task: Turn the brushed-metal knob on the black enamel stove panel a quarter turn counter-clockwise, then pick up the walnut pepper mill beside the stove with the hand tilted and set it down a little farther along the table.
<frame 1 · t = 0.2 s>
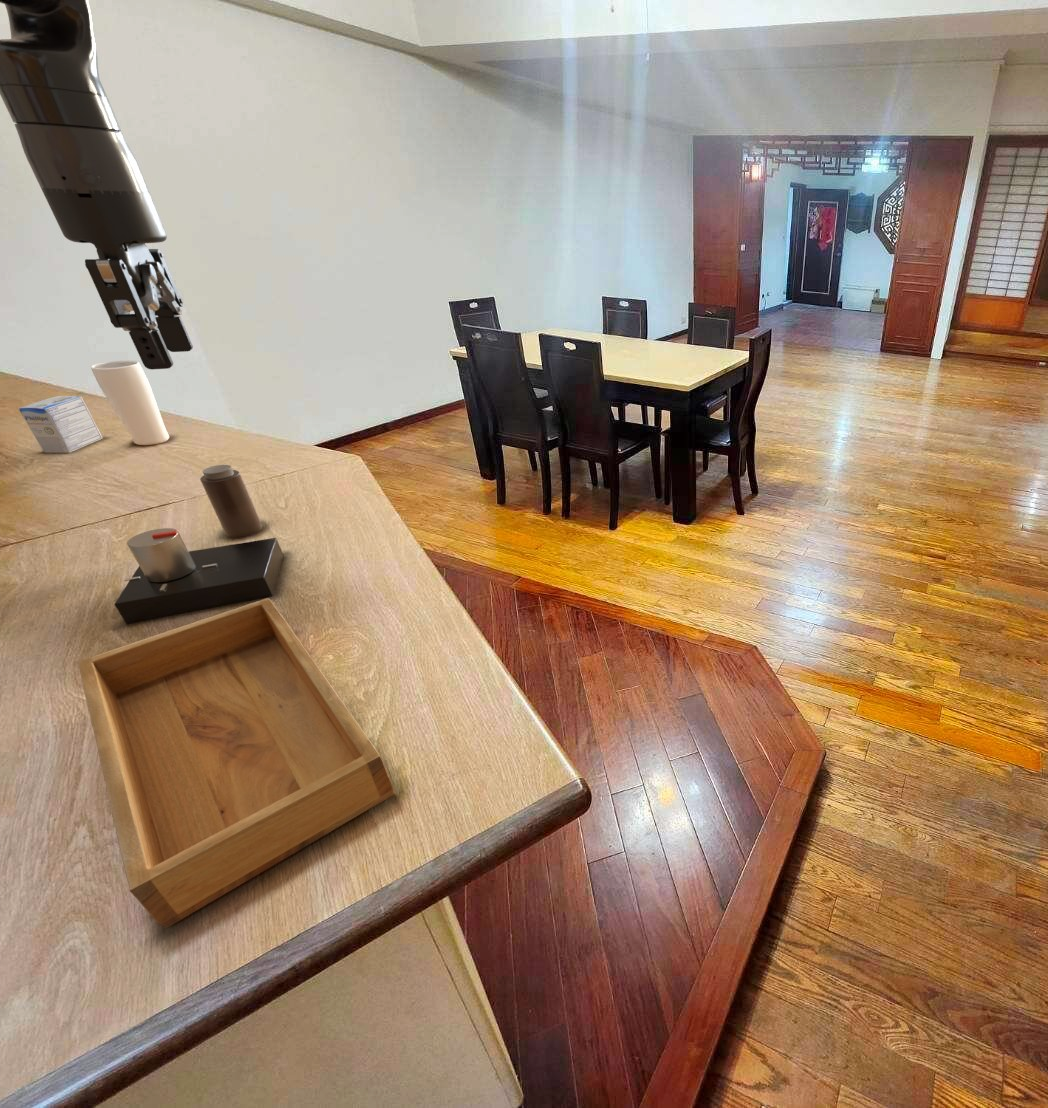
hand: (171, 359, 65), 28 cm above the counter, tool pointing down, fingers open, 8 cm apart
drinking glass: (153, 442, 117), on the counter
tray: (243, 749, 54), on the counter
pepper mill: (244, 531, 88), on the counter
stove knob: (162, 553, 71), point 6 cm above the counter, hinge at 0.0°
stove panel: (212, 587, 75), on the counter
medicine box: (75, 447, 113), on the counter
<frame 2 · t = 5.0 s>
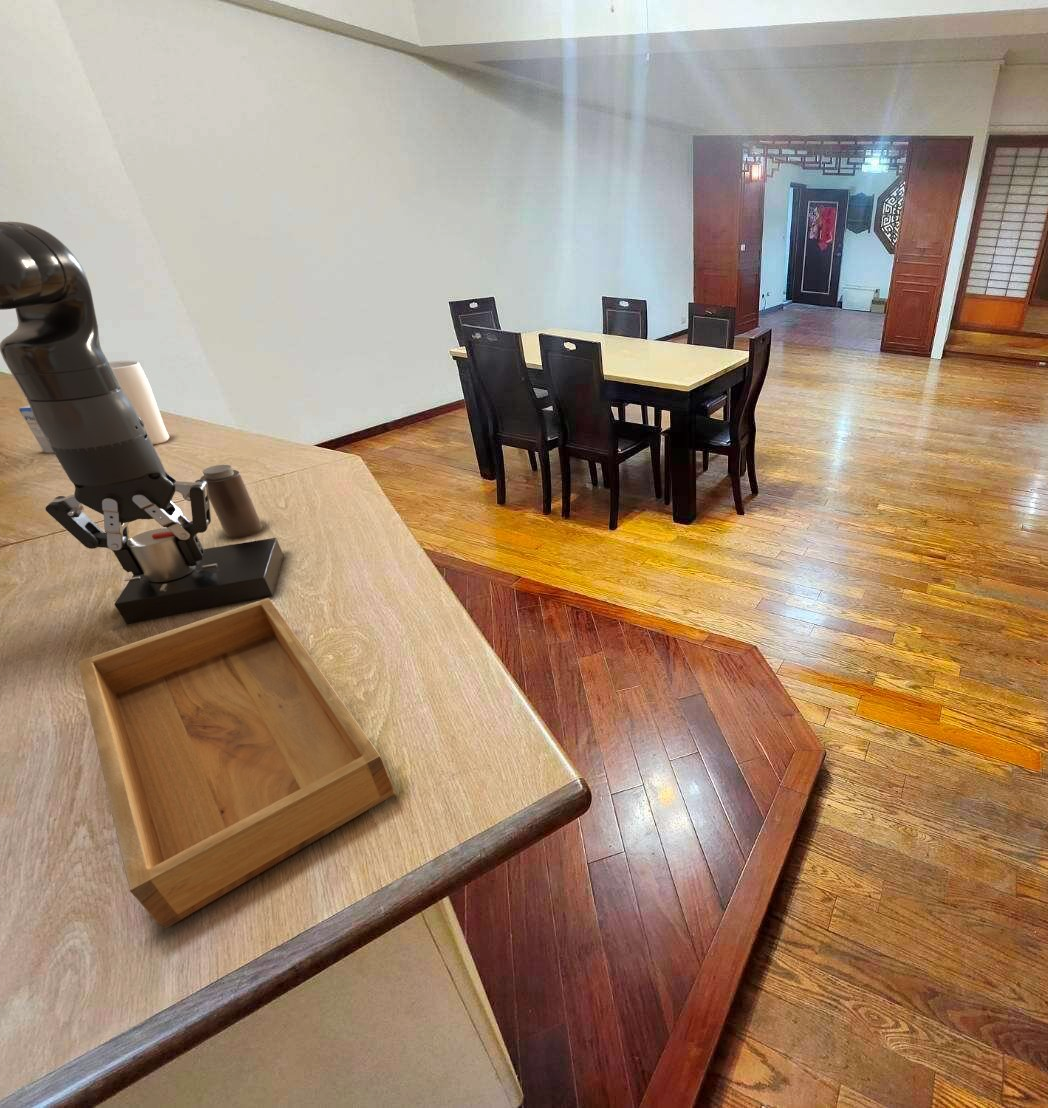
hand: (169, 566, 72), 4 cm above the counter, tool pointing down, fingers closed on stove knob, 4 cm apart
stove knob: (162, 553, 71), point 6 cm above the counter, hinge at -0.1°, touching gripper
everything else where it was.
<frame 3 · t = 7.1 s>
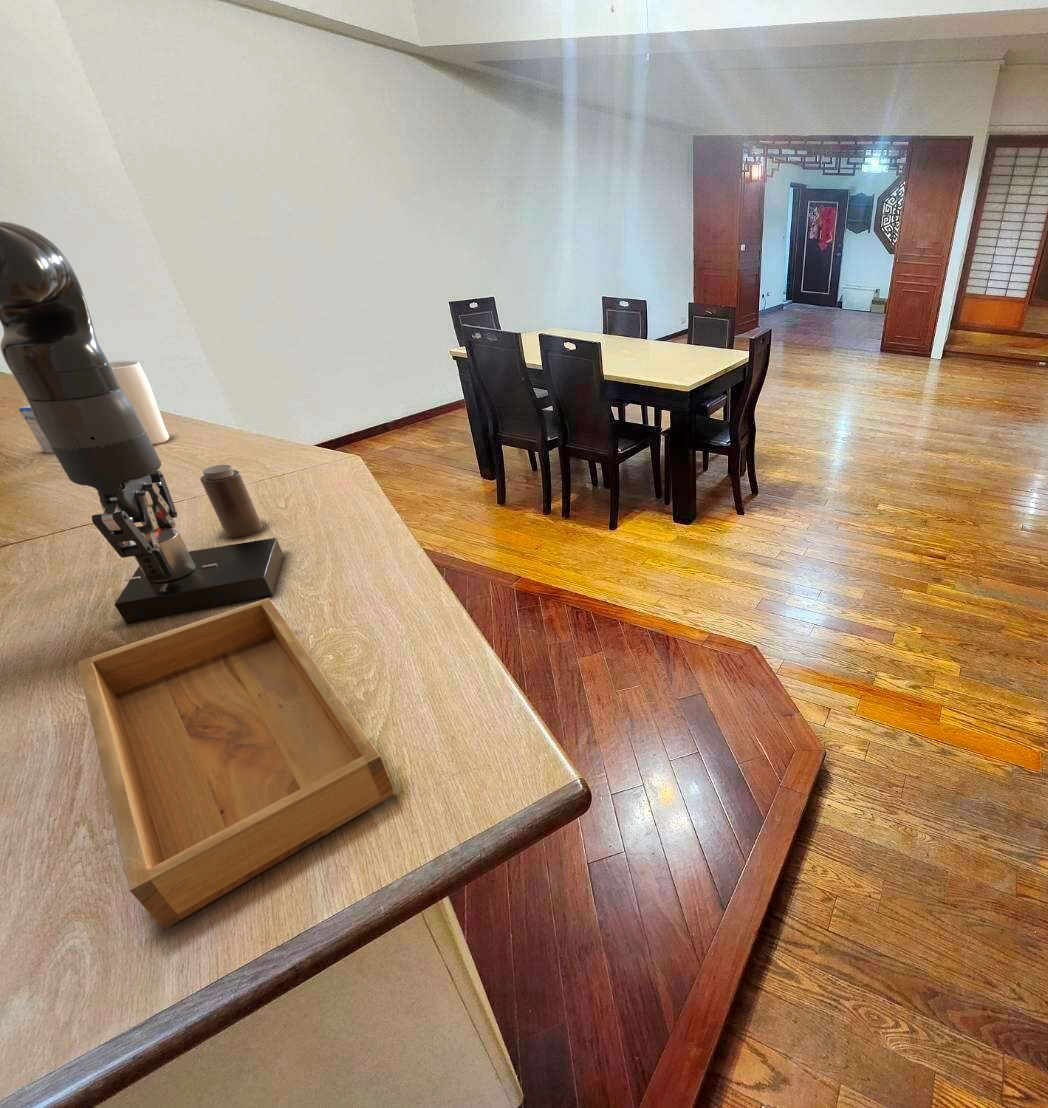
hand: (168, 566, 72), 4 cm above the counter, tool pointing down, fingers closed on stove knob, 4 cm apart
stove knob: (162, 553, 71), point 6 cm above the counter, hinge at 90.3°, touching gripper
everything else where it was.
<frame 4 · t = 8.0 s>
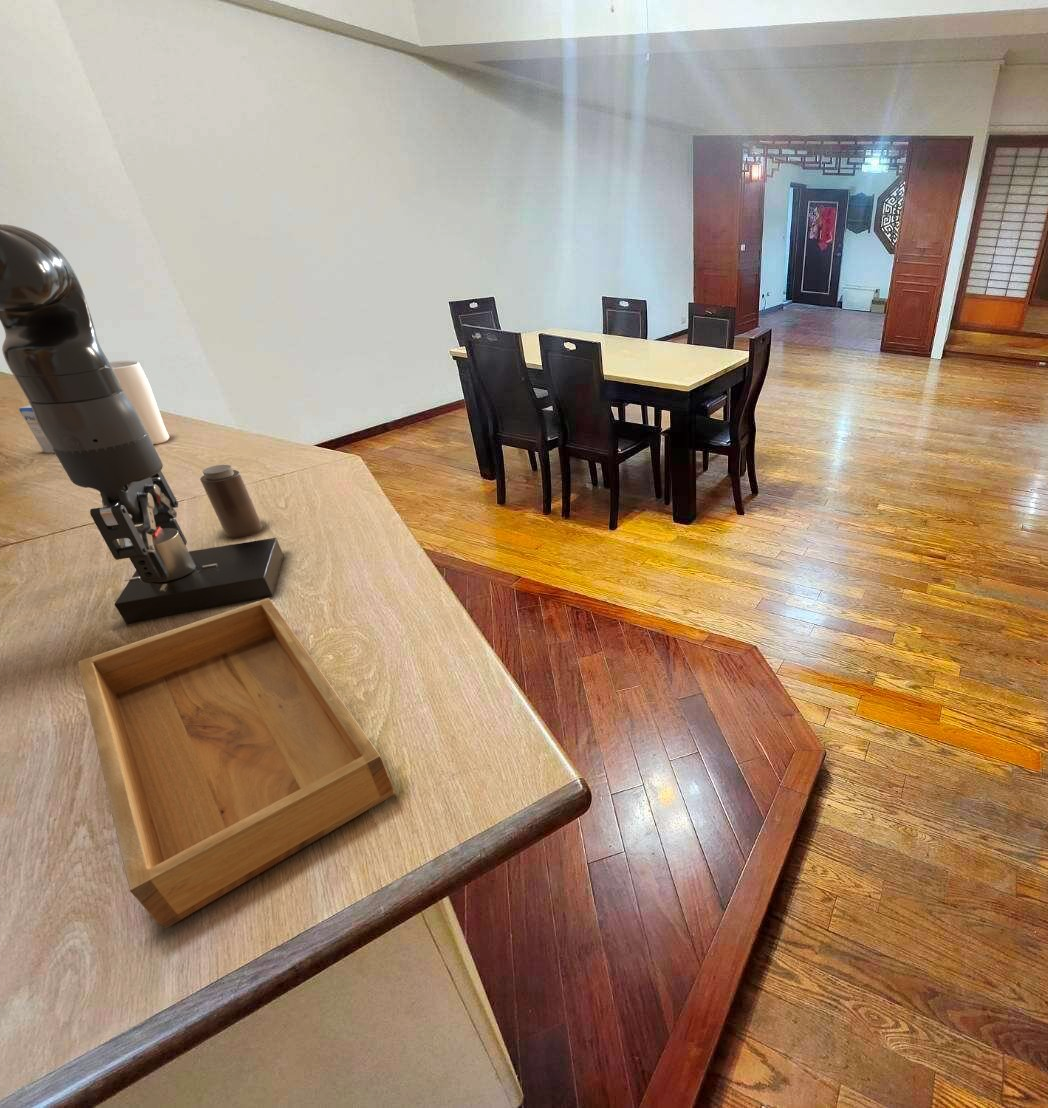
hand: (167, 562, 72), 4 cm above the counter, tool pointing down, fingers open, 8 cm apart
stove knob: (162, 553, 71), point 6 cm above the counter, hinge at 89.9°
everything else where it was.
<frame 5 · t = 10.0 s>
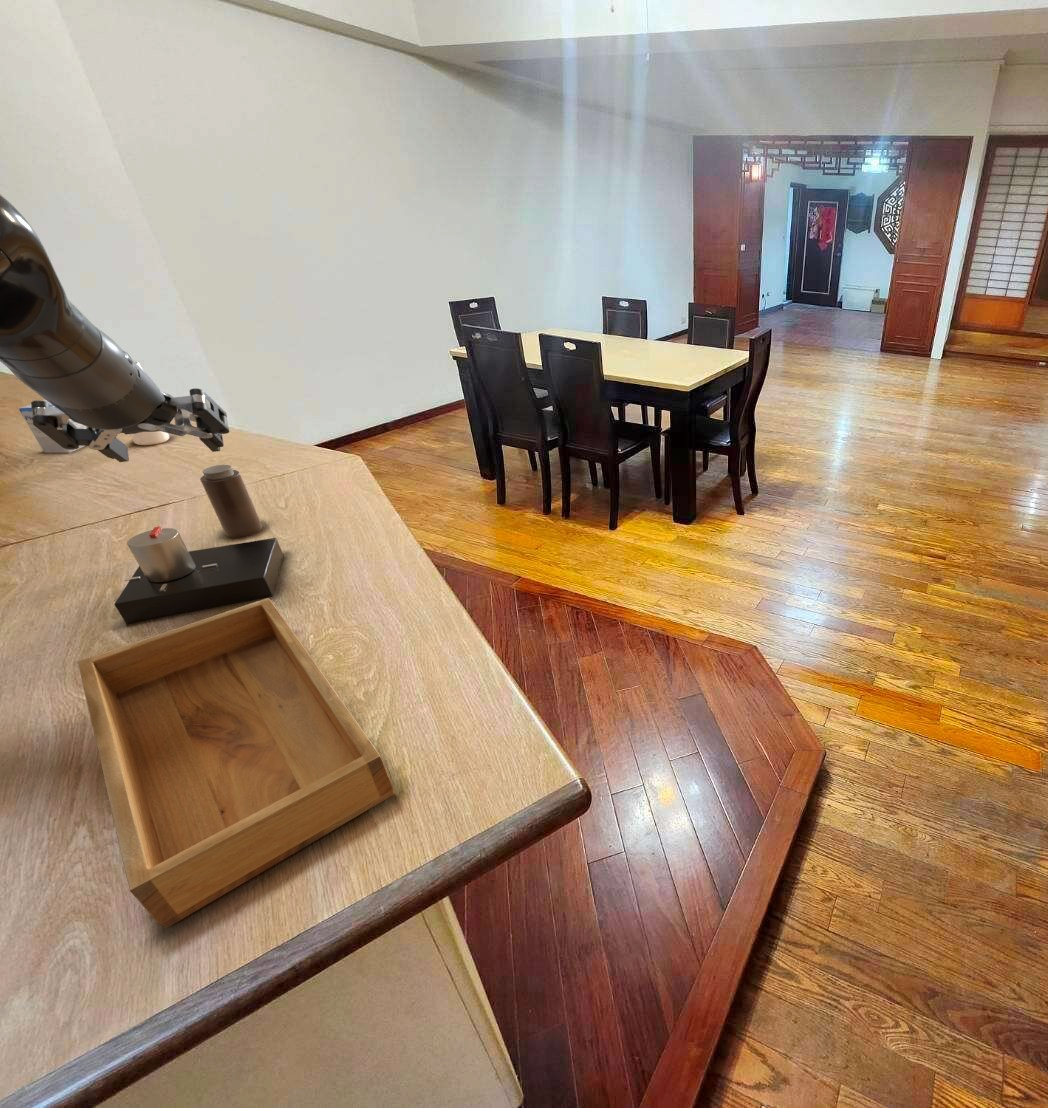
hand: (171, 449, 70), 17 cm above the counter, tool tilted 45°, fingers open, 8 cm apart
nothing on the counter moved.
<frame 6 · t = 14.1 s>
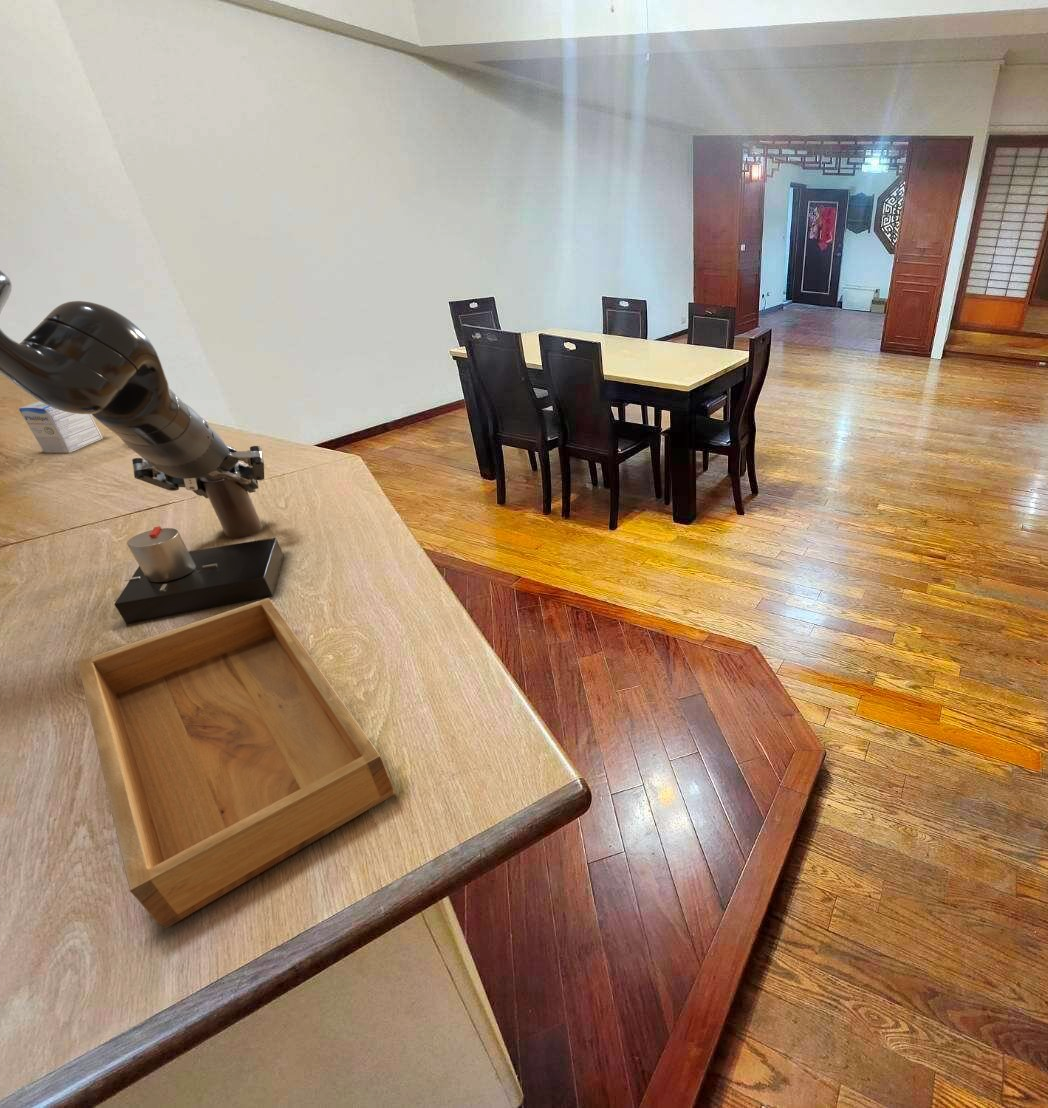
hand: (230, 489, 86), 6 cm above the counter, tool tilted 45°, fingers closed on pepper mill, 4 cm apart
pepper mill: (244, 531, 88), on the counter, touching gripper
everything else where it was.
when the fingers open (6 cm above the counter, at t = 22.1 s): pepper mill stays where it is, on the counter.
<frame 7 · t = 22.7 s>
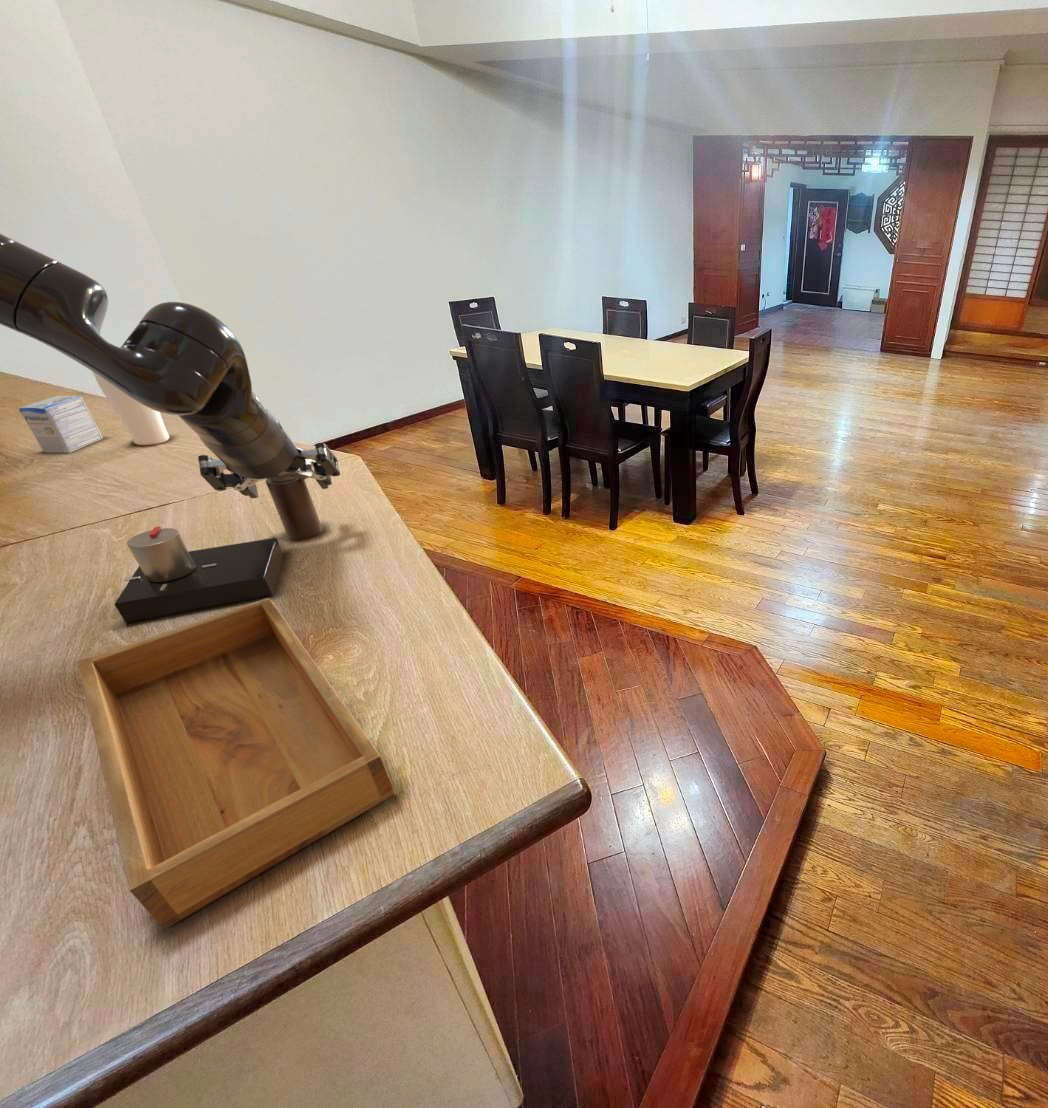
hand: (290, 487, 86), 7 cm above the counter, tool tilted 45°, fingers open, 8 cm apart
pepper mill: (305, 533, 88), on the counter
everything else where it was.
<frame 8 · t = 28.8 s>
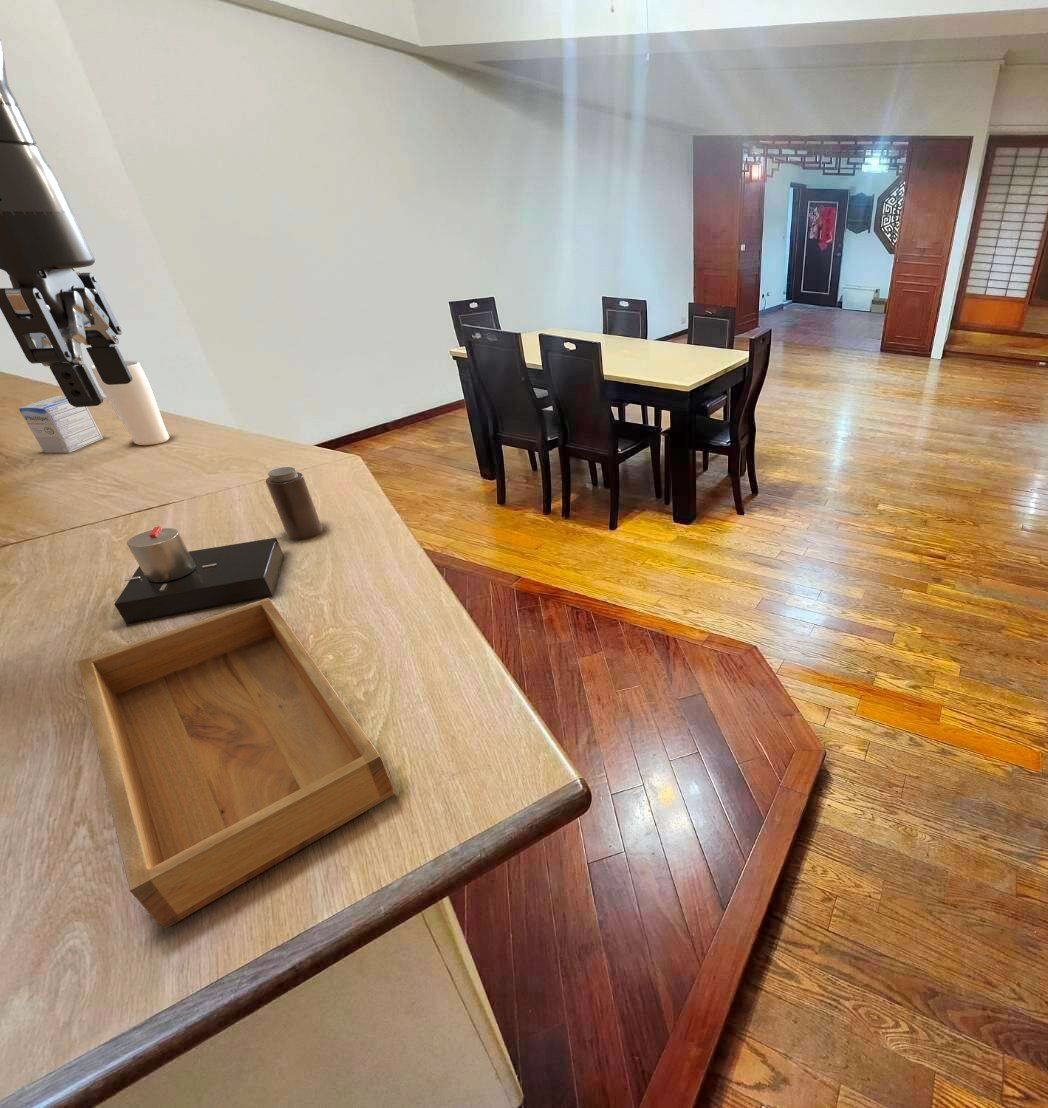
hand: (105, 393, 59), 26 cm above the counter, tool pointing down, fingers open, 8 cm apart
nothing on the counter moved.
at the end: stove knob at +90° (first picture: +0°); pepper mill inside the target area (0.1 cm from its centre), on the counter; pepper mill tilted 0° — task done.
